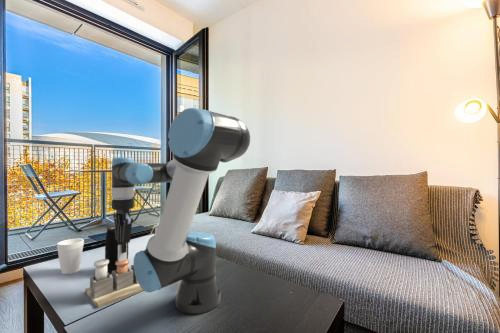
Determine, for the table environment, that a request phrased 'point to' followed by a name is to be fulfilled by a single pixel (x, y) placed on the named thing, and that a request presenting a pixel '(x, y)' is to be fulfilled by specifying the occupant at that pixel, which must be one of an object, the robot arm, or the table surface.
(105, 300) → the board
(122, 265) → the plunger terracotta
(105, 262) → the plunger cream
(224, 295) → the table surface
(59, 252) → the foam cup
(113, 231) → the portable speaker
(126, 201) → the robot arm
